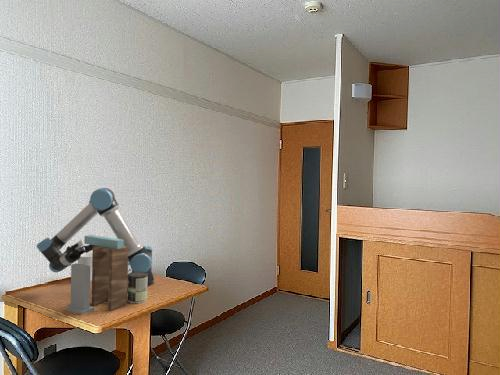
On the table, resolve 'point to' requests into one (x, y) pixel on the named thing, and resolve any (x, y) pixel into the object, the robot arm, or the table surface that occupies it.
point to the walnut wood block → (109, 277)
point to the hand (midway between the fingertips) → (94, 240)
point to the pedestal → (80, 289)
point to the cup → (86, 261)
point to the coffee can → (137, 287)
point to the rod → (104, 241)
